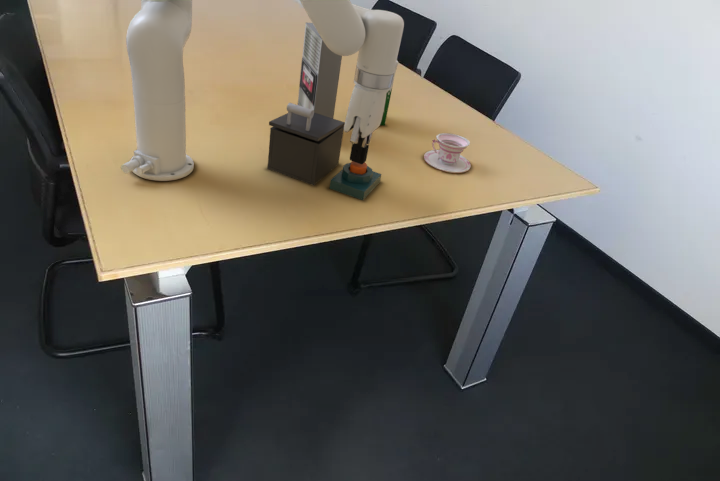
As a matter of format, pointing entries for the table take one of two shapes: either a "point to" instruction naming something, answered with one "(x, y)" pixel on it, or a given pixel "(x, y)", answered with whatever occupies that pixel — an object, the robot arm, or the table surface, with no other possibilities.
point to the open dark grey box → (303, 155)
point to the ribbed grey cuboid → (318, 74)
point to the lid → (306, 123)
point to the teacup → (449, 153)
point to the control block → (355, 182)
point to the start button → (358, 168)
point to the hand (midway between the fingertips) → (357, 160)
